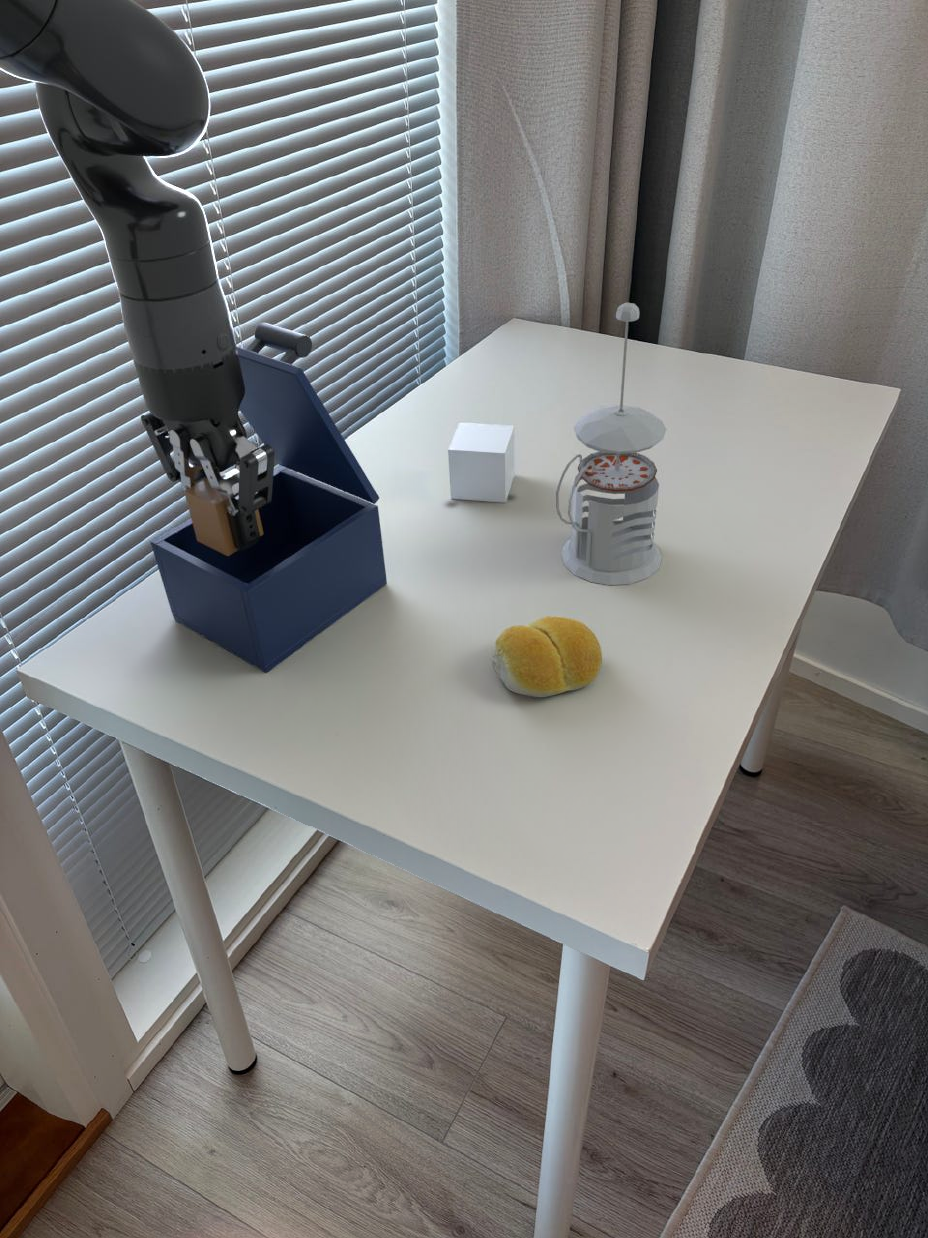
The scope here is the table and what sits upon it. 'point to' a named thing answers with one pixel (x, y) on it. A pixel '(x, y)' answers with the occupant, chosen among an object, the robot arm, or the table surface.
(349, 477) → the lid
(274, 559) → the box
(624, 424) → the french press
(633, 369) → the table surface
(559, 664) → the bread roll
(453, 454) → the white cube
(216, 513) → the block
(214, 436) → the robot arm
